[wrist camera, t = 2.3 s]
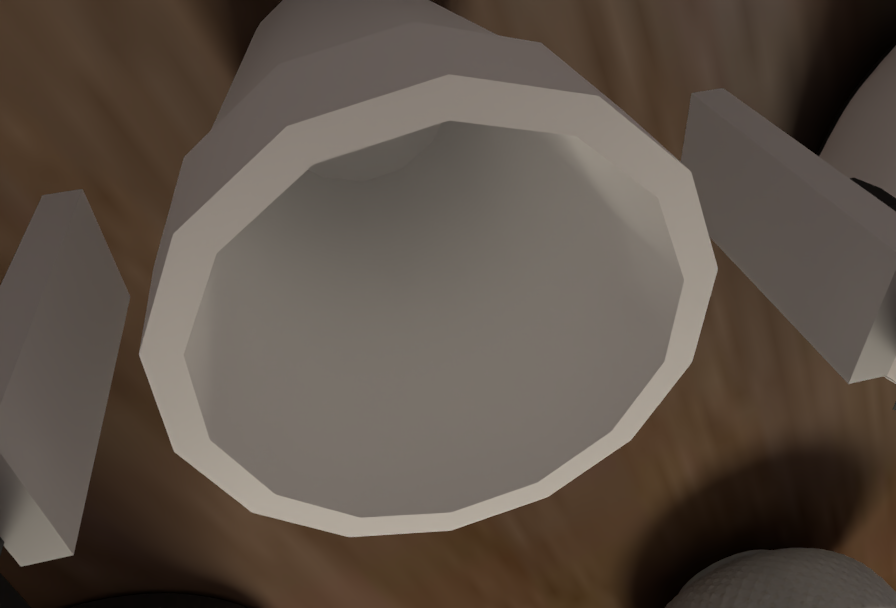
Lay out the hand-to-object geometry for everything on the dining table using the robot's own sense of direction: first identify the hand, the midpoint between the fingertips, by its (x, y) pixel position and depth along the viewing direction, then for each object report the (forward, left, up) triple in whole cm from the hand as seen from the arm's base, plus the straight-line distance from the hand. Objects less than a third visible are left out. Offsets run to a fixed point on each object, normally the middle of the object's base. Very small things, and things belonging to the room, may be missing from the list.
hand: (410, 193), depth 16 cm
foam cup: (0, 0, -8) cm, 8 cm away
